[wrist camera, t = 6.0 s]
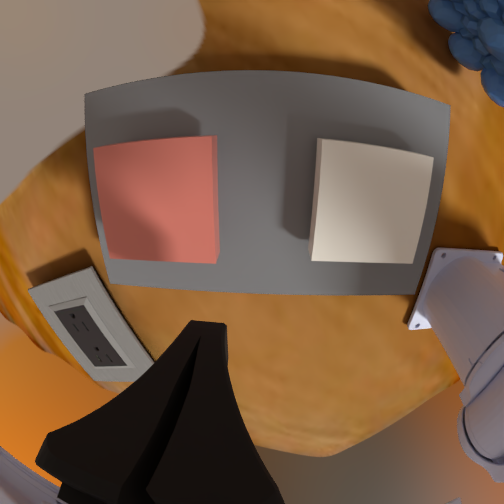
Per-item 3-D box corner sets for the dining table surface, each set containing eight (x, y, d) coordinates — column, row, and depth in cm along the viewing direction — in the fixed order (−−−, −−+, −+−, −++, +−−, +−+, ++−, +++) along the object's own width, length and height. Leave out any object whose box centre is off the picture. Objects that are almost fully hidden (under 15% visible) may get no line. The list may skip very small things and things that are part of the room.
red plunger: (229, 132, 15) (211, 136, 10) (229, 223, 17) (215, 263, 12) (139, 138, 15) (93, 148, 10) (147, 222, 17) (109, 258, 13)
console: (420, 105, 13) (450, 105, 10) (395, 267, 19) (414, 294, 15) (114, 96, 14) (84, 94, 11) (130, 258, 19) (110, 283, 16)
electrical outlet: (38, 279, 22) (25, 291, 20) (102, 255, 20) (87, 270, 18) (101, 368, 27) (93, 382, 25) (170, 365, 25) (164, 383, 23)
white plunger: (390, 145, 15) (433, 157, 10) (379, 226, 17) (412, 263, 13) (305, 134, 15) (322, 139, 10) (299, 222, 17) (311, 260, 13)
